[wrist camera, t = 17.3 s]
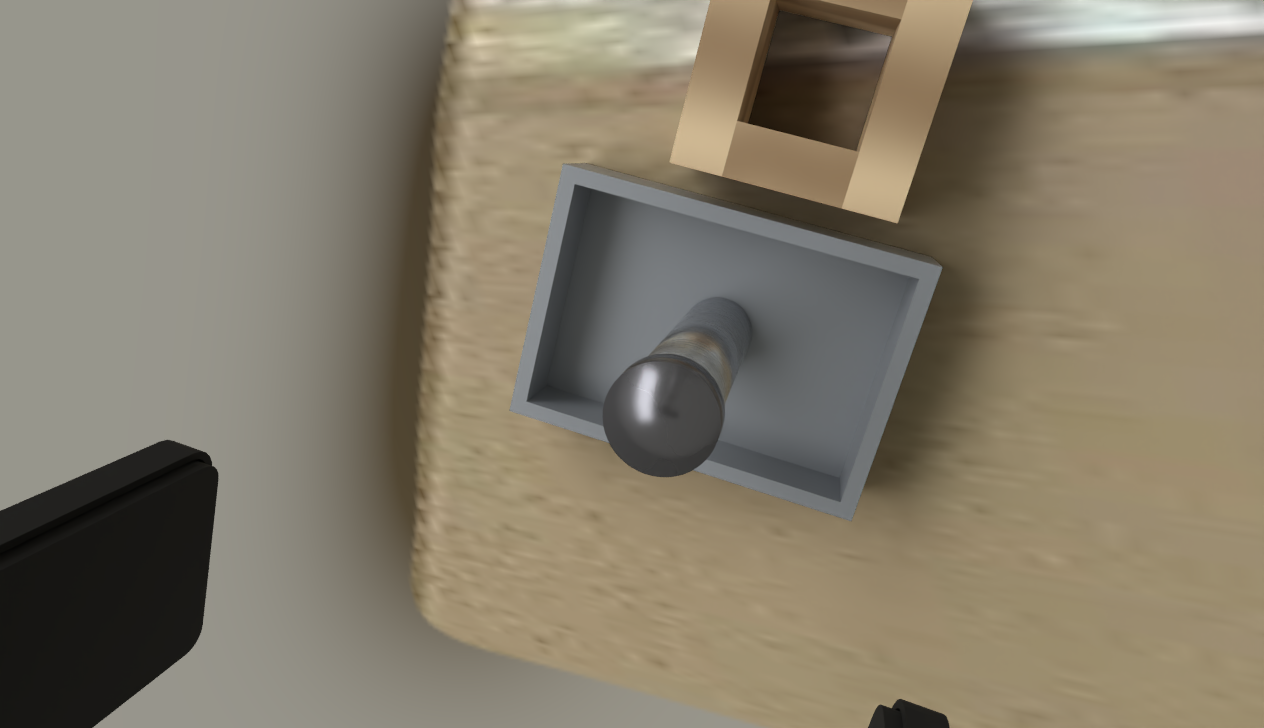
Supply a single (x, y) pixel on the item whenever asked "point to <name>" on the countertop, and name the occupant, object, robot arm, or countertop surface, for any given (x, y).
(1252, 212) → the countertop surface
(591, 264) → the tray
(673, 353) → the cylinder
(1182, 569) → the countertop surface
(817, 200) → the block
